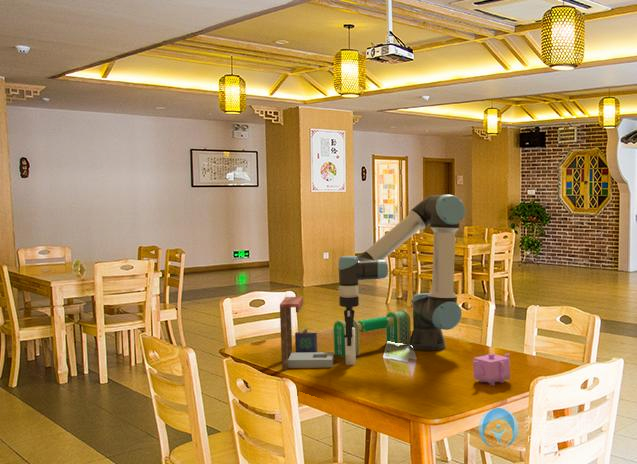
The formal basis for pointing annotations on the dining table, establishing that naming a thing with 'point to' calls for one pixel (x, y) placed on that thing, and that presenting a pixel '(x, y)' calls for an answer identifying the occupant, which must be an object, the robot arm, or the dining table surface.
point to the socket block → (311, 360)
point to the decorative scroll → (393, 322)
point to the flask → (306, 341)
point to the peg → (352, 357)
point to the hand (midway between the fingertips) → (349, 350)
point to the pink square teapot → (492, 368)
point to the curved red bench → (287, 326)
